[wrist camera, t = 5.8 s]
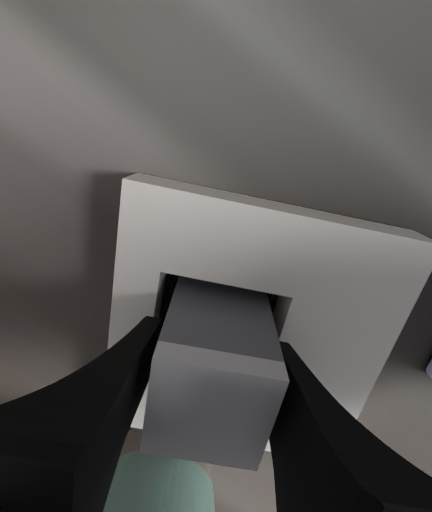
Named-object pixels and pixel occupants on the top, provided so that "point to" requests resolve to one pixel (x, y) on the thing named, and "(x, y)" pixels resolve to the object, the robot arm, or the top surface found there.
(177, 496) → the coffee cup
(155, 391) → the plug
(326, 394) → the robot arm
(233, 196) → the socket plate
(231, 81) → the top surface
